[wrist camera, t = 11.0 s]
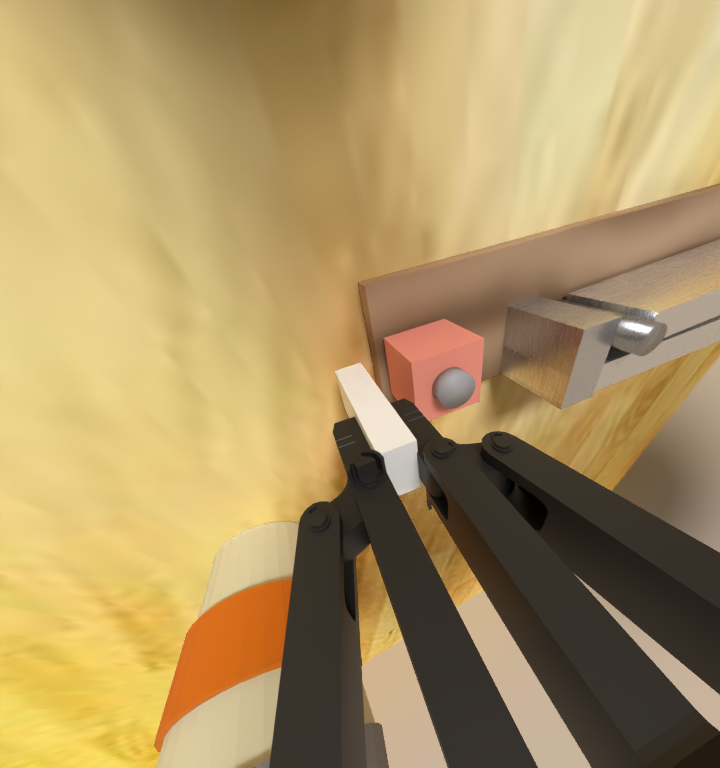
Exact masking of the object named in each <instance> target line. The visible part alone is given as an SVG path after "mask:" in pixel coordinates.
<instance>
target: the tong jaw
mask: <svg viewBox="0 0 720 768" xmlns="http://www.w3.org/2000/svg"><path fill="white" fill-rule="evenodd" d="M555 301H559V302H563V303H568V304H572V305H576V306H580V307H584V308H588V309H592V310H597V311H601V312H605V313H609V314H613V315H617V316H621V320H620V323H619V325H618V328H617V331H616V333H615V336H614V339H613V342H612V344H611V347H614V348H617V349H620V350H623V351H626V352H629V353H632V354H635V355H638V356H645V355H647V354H649V353H650V352H652V351H653V350H654V349H655V348H656V347H657V346H658V345H659V344H660V343H661V341H662V340H663V338H665V337H668V336H670V335H672V334H675V333H677V332H680V331H682V330H685V329H687V328H689V327H692V326H694V325H697V324H699V323H701V322H704V321H706V320H709V319H711V318H714V317H716V316H718V315H720V239H719V240H716V241H714V242H711V243H708V244H705V245H702V246H700V247H697V248H694V249H691V250H688V251H686V252H683V253H680V254H677V255H674V256H672V257H669V258H666V259H663V260H660V261H658V262H655V263H652V264H649V265H646V266H644V267H641V268H638V269H635V270H632V271H630V272H627V273H624V274H621V275H618V276H616V277H613V278H610V279H607V280H604V281H602V282H599V283H596V284H593V285H590V286H588V287H585V288H582V289H579V290H576V291H574V292H571V293H568V294H567V299H566V300H562V299H557V300H555Z"/></svg>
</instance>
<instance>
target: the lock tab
mask: <svg viewBox="0 0 720 768" xmlns="http://www.w3.org/2000/svg"><path fill="white" fill-rule="evenodd" d="M484 339H485V338H483V337H481V336H479V335H477V334H475V333H473V332H471V331H469V330H467V329H464V328H462V327H460V326H458V325H456V324H454V323H452V322H450V321H448V320H446V319H442V320H439V321H436V322H432V323H429V324H426V325H423V326H420V327H417V328H413V329H410V330H407V331H404V332H401V333H397V334H394V335H391V336H388V337H385V338H384V345H385V352H386V358H387V365H388V372H389V378H390V385H391V392H392V394H393V395H394V397H395V398H396V399H397V400H401V399H403V398H404V399H406V400H408V401H410V402H413V403H414V405H415V406H416V407H417V408H418V409H419V411H421V413H422V414H423V416H425V417H426V418H427V420H428V421H429V420H432V419H435V418H437V417H440V416H443V415H445V414H448V413H451V412H453V411H456V410H458V409H461V408H464V407H466V406H469V405H472V404H474V403H477V402H480V389H481V377H482V364H483V351H484Z"/></svg>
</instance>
